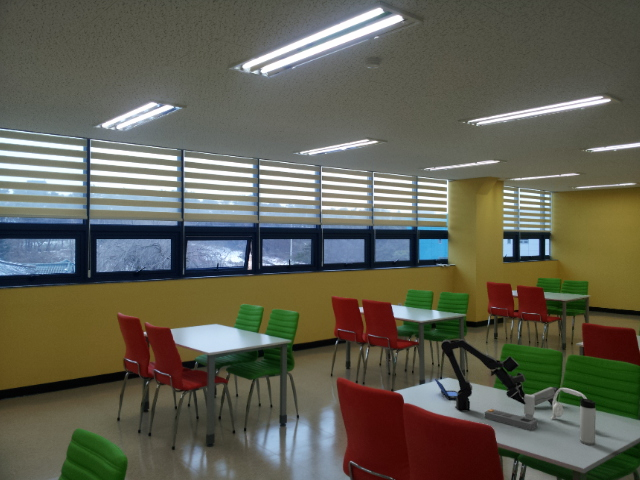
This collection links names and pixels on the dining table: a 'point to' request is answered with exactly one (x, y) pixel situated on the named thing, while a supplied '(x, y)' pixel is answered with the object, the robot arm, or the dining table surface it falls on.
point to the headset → (558, 407)
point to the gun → (545, 395)
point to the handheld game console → (447, 392)
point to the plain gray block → (529, 406)
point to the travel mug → (587, 421)
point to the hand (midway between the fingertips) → (526, 401)
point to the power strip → (511, 419)
